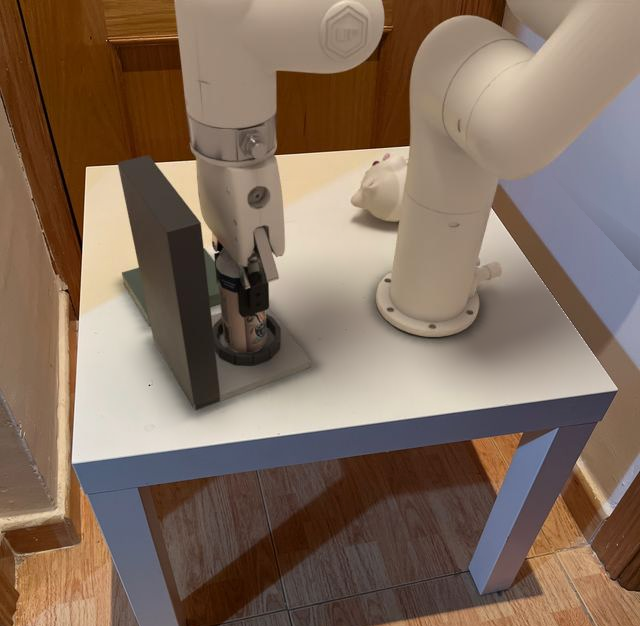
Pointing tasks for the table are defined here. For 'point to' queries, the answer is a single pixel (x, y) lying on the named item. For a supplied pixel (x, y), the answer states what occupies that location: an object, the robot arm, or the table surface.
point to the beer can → (238, 329)
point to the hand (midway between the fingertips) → (242, 295)
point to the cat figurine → (383, 188)
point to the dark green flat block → (137, 292)
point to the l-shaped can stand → (192, 297)
